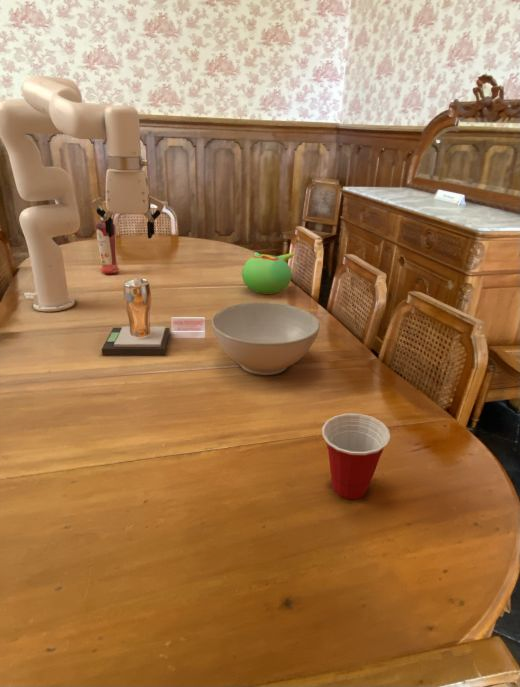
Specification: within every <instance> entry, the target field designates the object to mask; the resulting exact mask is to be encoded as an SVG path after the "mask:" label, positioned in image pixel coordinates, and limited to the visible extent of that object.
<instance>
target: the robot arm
mask: <svg viewBox="0 0 520 687" xmlns="http://www.w3.org/2000/svg"><path fill="white" fill-rule="evenodd" d="M21 93H22V97H23V99H15V98H14V99H4V100H2V101H0V140H1V141H2V143H3V145H4V147H5V149H6V152H7V155H8V158H9V162H10V167H11V171H12V176H13V178H14V179H13V180H14V182H15V187H16V190H17V193H18V196H20V198H21V200H24V201H25V202H44V201H53V200H54V202H55V203H54V204H41V205H35V206H30V207H27V208H25V209H23V210H22V211H21V213H20V214H19V218H18V219H19V220H18V221H19V225H20V228H21V231H22V233H23V236H24V239H25V243H26V245H27V251H28V254H29V255H28V256H29V260H30V266H31V272H32V277H33V278H32V279H33V283H34V284H33V285H34V289H35V291H34V292H24V293H23V298H24V299H25V301H33V303H32V306H33V309H34V310H36V311H39V312H44V313H45V312H47V313H49V312H50V313H51V312H58V311H65V310H69V309H70V308H71V307H73V306H74V305H75V304H76V302H75V299H74V298H73V297H71V296H70V295H69V289H68V288H69V287H68V282H67V276H66V268H65V262H64V255H63V251H62V248H61V247H60V246H59V245H58V243H57V242H55V241H54V239H53V238H56V237H60V236H66V235H71V234H72V235H73V234H75V233H77V232H78V231H79V229H80V227H81V219H80V218H81V217H80V212H79V206H78V203H77V197H76V193H75V188H74V184H73V181H72V178H71V177H70V175H69V173H68V172H67V171H66V170H65V169H64V168H62V167H59V166H45V165H44V164H43V163H44V162H43V160H42V155H41V151H40V149H39V147H38V146H37V144H36V143H35V142H34V141H33V140H32V139H31V138H30V137H29V136H28V134H34V135H56V134H59V133H63V134H65V135H66V136H69V137H72V138H74V139H78V140H106V146H107V159H108V169H106V174H105V194H103V195H102V196H99V197H98V198H95V199H94V200H92V201H91V205H92V206H93V208H94V210H95V211H96V213H97V215H99V216H100V218H101V217H102V218H103V220H104V221H105V226H106V233H108V236H109V237H112V236H113V235H114V227H113V224H114V219H113V218H112V216H113V215H114V214H118V215H119V214H120V215H121V214H123V215H143V216H144V217H145V218H146V219H147V222H146V230H147V231H146V232H147V238H148V239H152V237H153V235H155V233H156V232H155V220H156V219H157V218H158V217H159V216H161V214H162V212H163V210H164V208H165V202H162V201H161V200H160V199H157V198H155V197H154V196H152V195H151V193H150V185H149V179H148V175H147V171H146V169H145V170H144V169H143V168H144V167H149V161H148V159H144V158H143V156H142V147H141V146H142V145H141V129H140V115H139V112H138V110H137V109H136V108H135V107H133V106H129V105H128V106H127V105H114V104H106V103H105V104H104V103H91V102H83V99H82V98H83V97H82V92H81V90H80V88H79V86H78V85H77V84H76V83H75V82H74V81H73V80H71V79H69V78H67V77H60V76H51V75H50V76H49V75H39V74H38V75H31V76H29V77H27V78H26V79H25V80H24V81H23V82H22V86H21ZM26 134H27V135H26ZM104 201H106V207H107V213H106V212H105V211H104V210H103V209H102V208H101V206H100V203H102V202H104ZM151 204H152V205H153V206H156V210H155V212H151Z"/></svg>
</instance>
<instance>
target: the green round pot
mask: <svg viewBox="0 0 520 687" xmlns="http://www.w3.org/2000/svg"><path fill="white" fill-rule="evenodd" d="M294 256H295V253H294V252H293V253H292V252H291V253H287V254H286V253H285V254H280V255H273V254H263V253H262V254H260V253H259V252H255V253H254V255H253V257H250V258H249V259H248V260H247V261H246V262H245V263H244V264H243V267H242V270H241V278H242V281H243V283H244V285H245V286H246V287H247V288H248V289H250V290H251V291H253V292H255V293H258V294H263V295H274V294H278V293H281V292H283V291H284V290H286V289H287V288H288V286H289V285H290V284H291V283H290V282H291V280H292V270H291V267H290V265H289V263H288V262H287V261H288V260H289V259H291V258H293V257H294Z"/></svg>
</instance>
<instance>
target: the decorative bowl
mask: <svg viewBox="0 0 520 687" xmlns="http://www.w3.org/2000/svg"><path fill="white" fill-rule="evenodd" d="M210 324H211V329H212V332H213V335H214V337H215V339H216V341H217V343H218V344H219V346H220V348H221V350H222V351H223V352H224V353H225V354H226V355H227V357H228V358H230V359H231V360H232V361H234V362H235V363H236V364H238V365H240V367H241V368H242V369H243V370H245V372H248V373H250V374H254V375H260V376H272V375H278V374H280V373H282V372H284V371H285V370H287V369H288V367H290V366H292V365H294V364H295V363H296V362H298V361H299V360H300V359H302V358H303V357H304V356H305V355H306V354H307V353H308V351H309V350H310V349H311V348H312V346H313V345H314V342H316V339H317V336H318V335H319V332H320V327H321V323H320V321H319V319H318V317H317V316H316V315H314V314H313V313H311V312H310V311H308V310H305V309H303V308H301V307H298V306H294V305H290V304H286V303H278V302H269V301H268V302H267V301H251V302H243V303H237V304H233V305H229V306H227V307H224V308H222V309H220V310H218V311H217V312H216V313H214V314H213V316H212V317H211V321H210Z"/></svg>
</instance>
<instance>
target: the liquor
mask: <svg viewBox="0 0 520 687" xmlns="http://www.w3.org/2000/svg"><path fill="white" fill-rule="evenodd" d="M100 206H101V208H102V209H103V210H104V211H105V212H106V213H107V211H108V210H107V207H106V201H104V202H102V203H100ZM113 227H114V235H113V236H112V237H109V236H108V233H106V226H105V221H104V220H103V218H102V217H101V216H100V221H99V222H98V223H97V224H96V225H95V232H96V239H97V240H96V241H97V245H98V251H99V256H100V263H101V268H100V272H102V274H104V275H107V276H112V275H115V274H117V273H118V272H119V271H120V269H119V267H118V257H117V256H118V255H117V233H116V225H115V224H114V223H113Z"/></svg>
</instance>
